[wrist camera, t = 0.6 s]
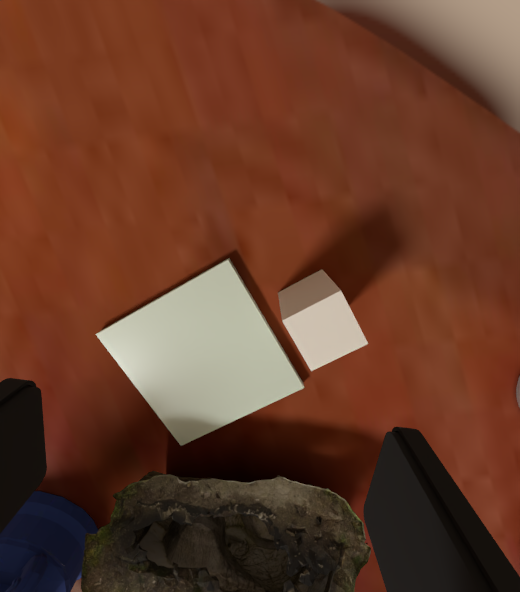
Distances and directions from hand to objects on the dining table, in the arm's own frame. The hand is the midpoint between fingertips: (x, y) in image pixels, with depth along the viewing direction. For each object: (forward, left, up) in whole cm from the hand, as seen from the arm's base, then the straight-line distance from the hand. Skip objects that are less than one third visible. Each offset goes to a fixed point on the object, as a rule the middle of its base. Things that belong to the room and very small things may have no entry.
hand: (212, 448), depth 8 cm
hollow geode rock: (-23, +15, -24) cm, 36 cm away
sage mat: (-6, +9, -24) cm, 26 cm away
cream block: (-6, -4, -24) cm, 25 cm away
